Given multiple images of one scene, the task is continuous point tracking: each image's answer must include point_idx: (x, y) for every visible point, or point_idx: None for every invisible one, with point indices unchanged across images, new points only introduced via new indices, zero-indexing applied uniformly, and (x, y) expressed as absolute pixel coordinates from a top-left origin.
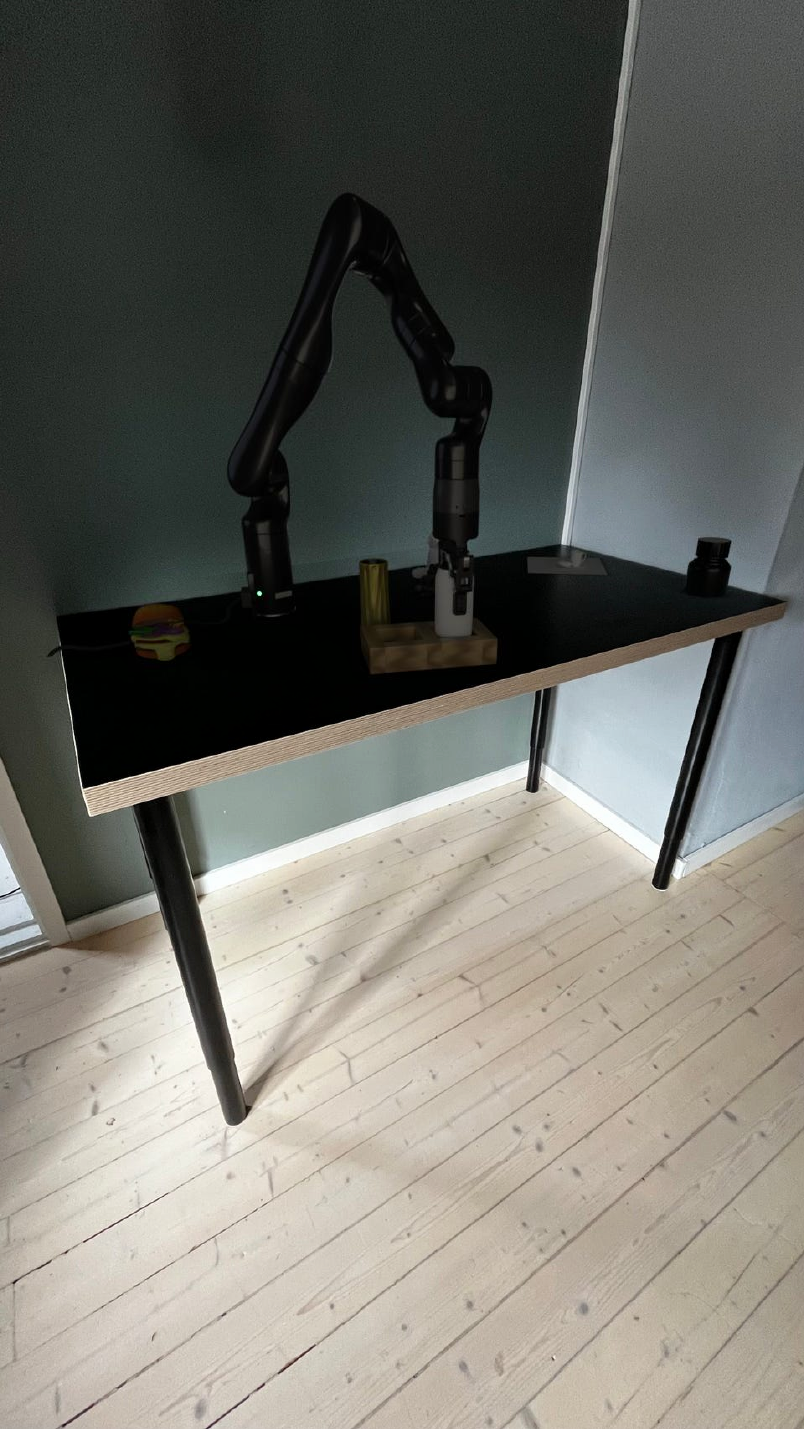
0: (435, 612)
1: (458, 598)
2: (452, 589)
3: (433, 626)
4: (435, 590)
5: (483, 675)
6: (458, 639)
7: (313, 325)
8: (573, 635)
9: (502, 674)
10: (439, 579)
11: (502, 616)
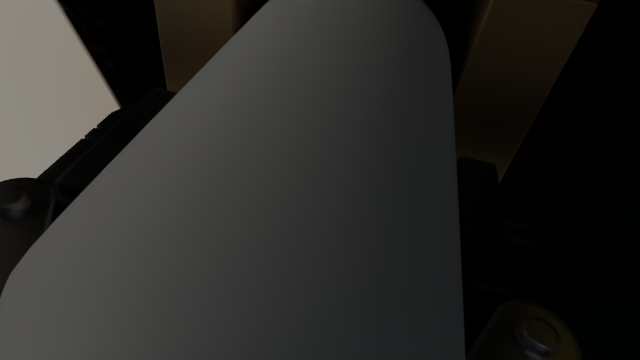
0: (340, 16)
1: (48, 174)
2: (18, 200)
3: (484, 12)
4: (300, 116)
5: (127, 35)
6: (189, 36)
7: None
8: None
9: (135, 94)
10: (103, 225)
11: (628, 346)
